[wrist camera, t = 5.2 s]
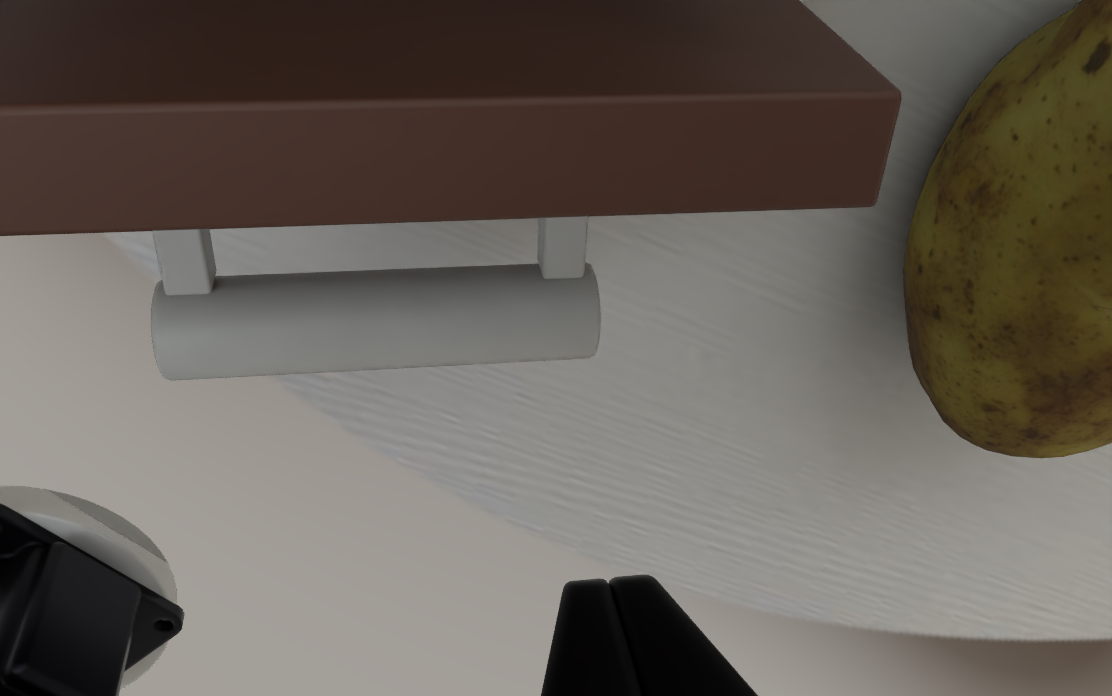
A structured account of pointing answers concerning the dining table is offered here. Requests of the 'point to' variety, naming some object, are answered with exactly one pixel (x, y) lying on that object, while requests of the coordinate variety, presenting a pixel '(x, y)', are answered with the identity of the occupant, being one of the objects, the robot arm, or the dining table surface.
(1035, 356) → the potato
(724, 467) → the dining table surface
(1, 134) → the drawer
